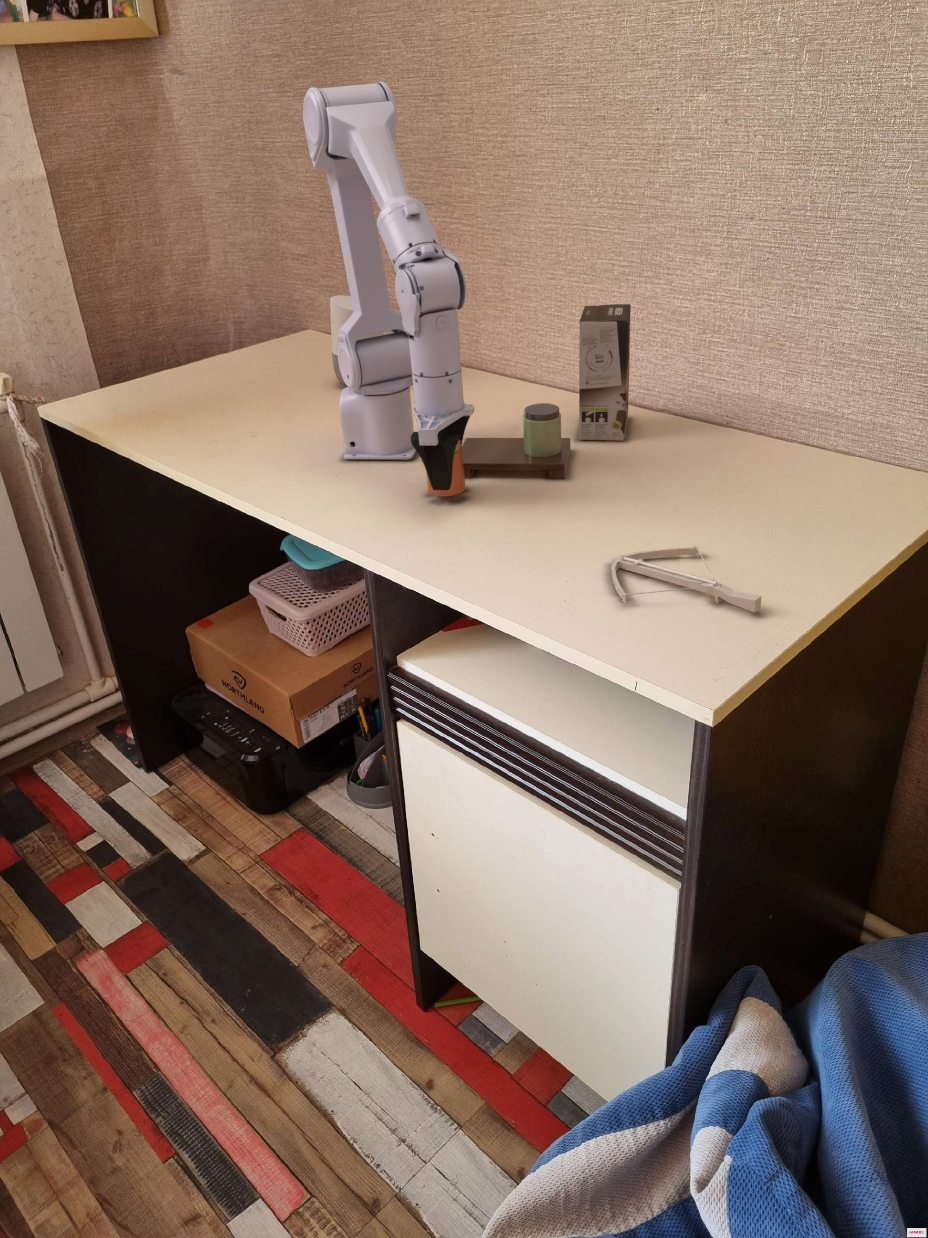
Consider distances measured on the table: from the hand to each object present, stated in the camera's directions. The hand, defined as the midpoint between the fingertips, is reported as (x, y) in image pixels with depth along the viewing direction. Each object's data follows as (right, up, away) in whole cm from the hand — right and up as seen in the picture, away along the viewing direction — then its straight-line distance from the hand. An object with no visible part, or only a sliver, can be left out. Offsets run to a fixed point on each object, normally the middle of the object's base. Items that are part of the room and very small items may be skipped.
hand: (445, 480), depth 115 cm
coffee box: (+22, +9, +17) cm, 29 cm away
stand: (+9, +3, +8) cm, 12 cm away
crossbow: (+24, -14, -22) cm, 35 cm away
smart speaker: (-15, +22, +43) cm, 51 cm away
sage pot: (+12, +5, +6) cm, 15 cm away
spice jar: (0, -1, +1) cm, 1 cm away
